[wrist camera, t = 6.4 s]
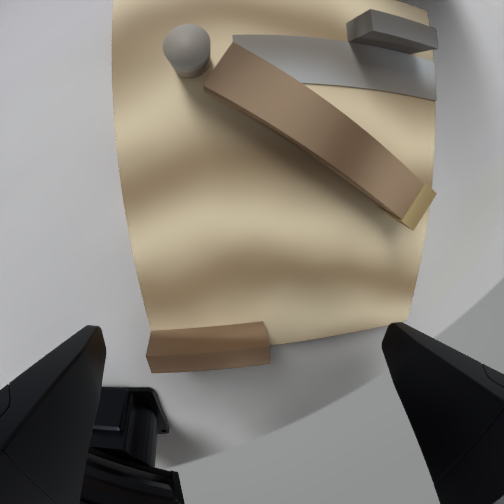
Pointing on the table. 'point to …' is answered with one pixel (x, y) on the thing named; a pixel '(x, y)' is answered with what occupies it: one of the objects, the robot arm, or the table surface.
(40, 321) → the table surface
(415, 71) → the board
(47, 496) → the robot arm
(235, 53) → the folding leg
